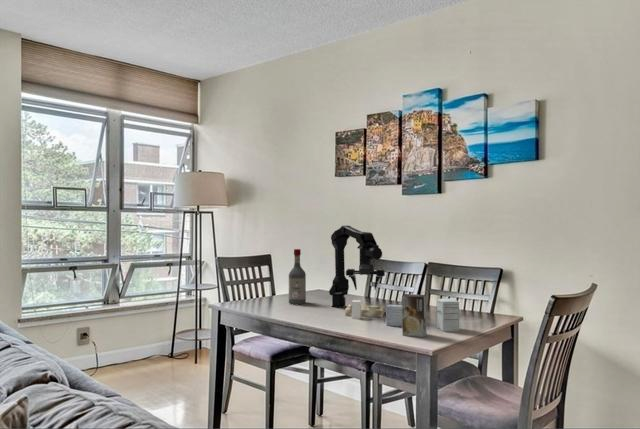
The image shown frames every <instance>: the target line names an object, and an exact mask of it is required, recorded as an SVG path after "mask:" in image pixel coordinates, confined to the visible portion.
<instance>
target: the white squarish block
mask: <svg viewBox="0 0 640 429" xmlns="http://www.w3.org/2000/svg"><path fill="white" fill-rule="evenodd" d="M351 305H352V316H351V319H354V320H355V319H357V320H361V319H362V316H361V305H362V300H354V299H352V301H351Z"/></svg>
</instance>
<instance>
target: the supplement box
mask: <svg viewBox="0 0 640 429" xmlns="http://www.w3.org/2000/svg"><path fill="white" fill-rule="evenodd" d="M436 314H437V316H436V328H437V329H439V330H441V332H445V333H446V332H448V333H449V332H460V301H459V300H457V299H454V298H437V299H436Z"/></svg>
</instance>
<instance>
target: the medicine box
mask: <svg viewBox="0 0 640 429" xmlns="http://www.w3.org/2000/svg"><path fill="white" fill-rule="evenodd" d="M385 313H386V317H385V319H386V322H385V323H386V326H387V327H388V326H389V327H390V326H391V327H402V304H400V305H399V304H388V305H386V310H385Z"/></svg>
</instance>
